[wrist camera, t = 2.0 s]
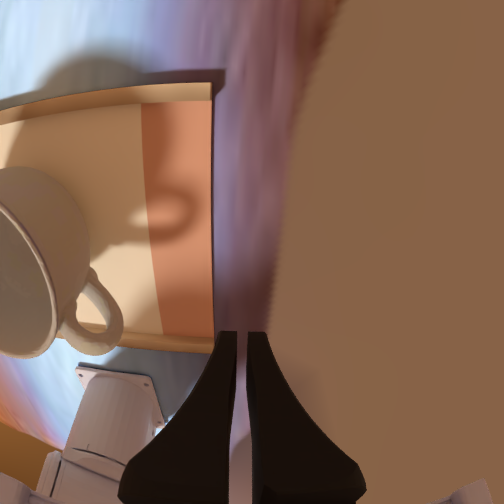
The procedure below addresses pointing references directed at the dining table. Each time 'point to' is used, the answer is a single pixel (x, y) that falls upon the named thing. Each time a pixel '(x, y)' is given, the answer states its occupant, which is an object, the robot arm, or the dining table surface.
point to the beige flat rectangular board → (133, 201)
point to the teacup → (47, 269)
